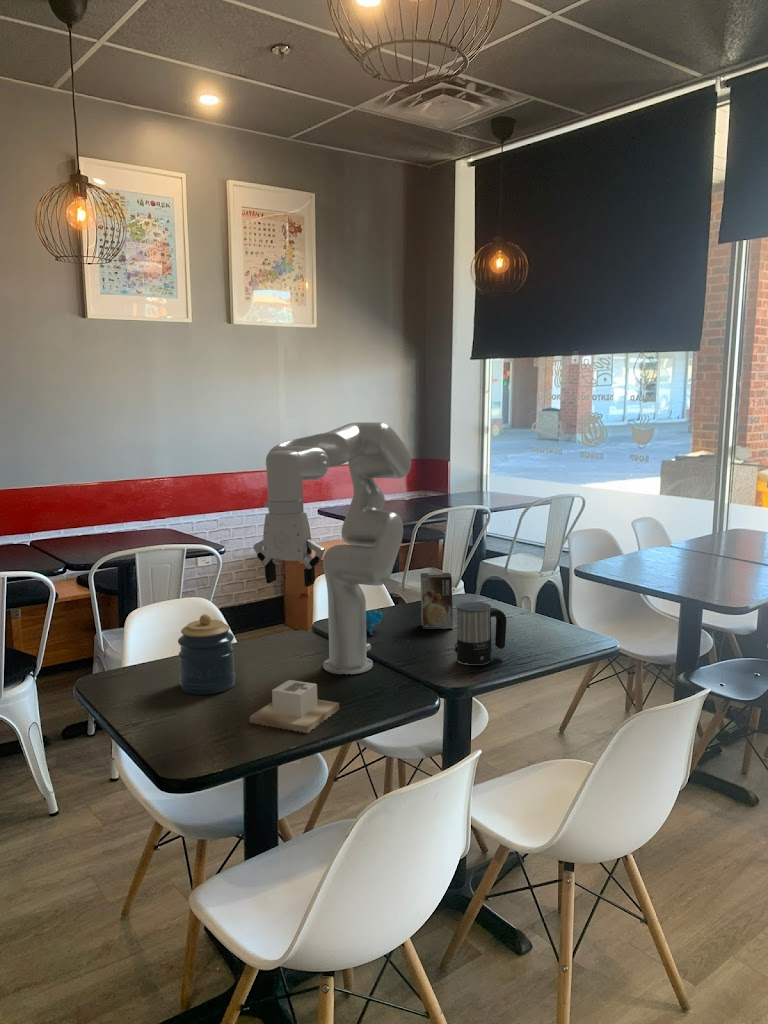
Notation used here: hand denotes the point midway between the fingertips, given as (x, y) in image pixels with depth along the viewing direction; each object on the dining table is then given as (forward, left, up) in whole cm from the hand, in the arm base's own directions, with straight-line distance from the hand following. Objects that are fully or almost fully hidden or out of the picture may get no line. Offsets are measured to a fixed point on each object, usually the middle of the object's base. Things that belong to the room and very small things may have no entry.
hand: (290, 583), depth 175 cm
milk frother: (-46, +27, -28) cm, 60 cm away
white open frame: (+7, +4, -26) cm, 27 cm away
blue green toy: (-55, -9, -28) cm, 62 cm away
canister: (-1, -25, -28) cm, 37 cm away
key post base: (+7, +4, -27) cm, 29 cm away
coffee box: (-69, +8, -28) cm, 75 cm away
